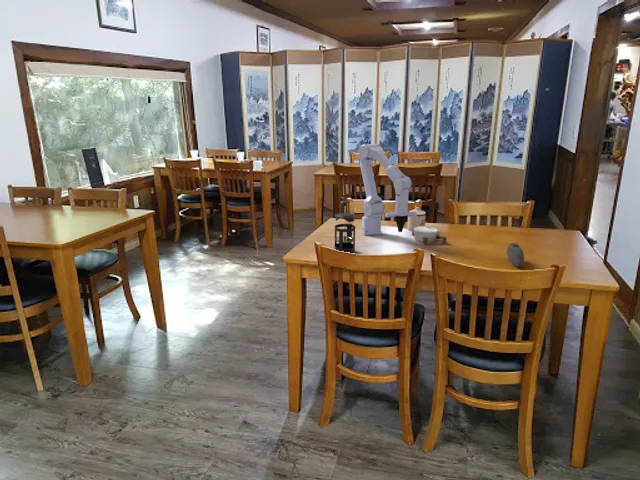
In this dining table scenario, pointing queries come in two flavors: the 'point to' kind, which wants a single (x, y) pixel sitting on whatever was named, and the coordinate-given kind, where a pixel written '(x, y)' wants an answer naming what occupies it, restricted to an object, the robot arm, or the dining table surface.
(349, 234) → the french press
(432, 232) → the ramekin
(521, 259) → the perforated stone tool
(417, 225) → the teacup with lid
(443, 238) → the walnut cradle
